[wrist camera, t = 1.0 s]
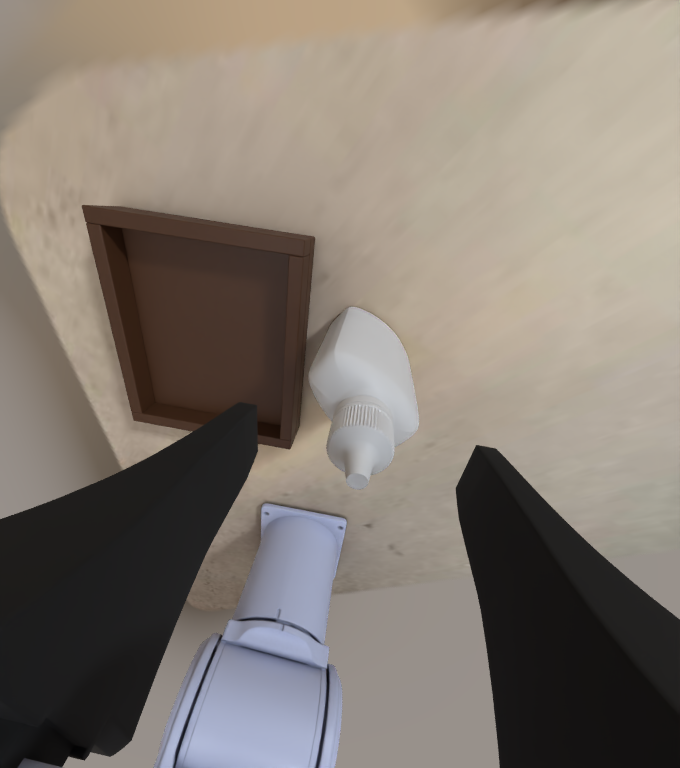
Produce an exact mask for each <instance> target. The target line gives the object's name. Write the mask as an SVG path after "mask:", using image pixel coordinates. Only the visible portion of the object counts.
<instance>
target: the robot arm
mask: <svg viewBox="0 0 680 768" xmlns="http://www.w3.org/2000/svg"><path fill="white" fill-rule="evenodd" d="M257 452H258V432H257V405H254V404H248V403H243V402H238V403H237V404H235V405H233V406H232V407H230V408H229V409H227V410H226V411H224V412H223V413H221V414H220V415H218V416H217V417H215V418H214V419H212V420H211V421H209V422H208V423H206V424H204V425H203V426H201V427H200V428H198V429H197V430H195V431H193V432H192V433H190V434H189V435H187V436H185V437H184V438H182V439H180V440H178V441H177V442H175V443H173V444H172V445H170V446H168V447H166V448H165V449H163V450H161V451H159V452H158V453H156V454H154V455H152V456H150V457H149V458H147V459H145V460H143V461H141V462H139V463H137V464H135V465H133V466H131V467H129V468H127V469H125V470H123V471H121V472H118V473H116V474H114V475H112V476H110V477H108V478H105V479H103V480H101V481H98V482H97V483H94V484H91V485H89V486H87V487H84V488H82V489H79V490H77V491H75V492H72V493H70V494H67V495H65V496H63V497H60V498H58V499H55V500H52V501H50V502H47V503H44V504H42V505H39V506H36V507H34V508H31V509H28V510H25V511H23V512H20V513H17V514H14V515H11V516H8V517H6V518H3V519H0V768H62V766H63V765H64V763H65V761H66V760H67V758H68V757H73V758H77V759H81V760H85V759H86V758H87V757H88V756H89V754H90V752H93V753H97V754H101V755H105V756H109V757H110V756H112V755H114V754H116V753H117V752H119V751H120V750H121V749H122V748H124V747H125V746H126V745H127V744H128V743H129V742H130V741H131V740H132V737H133V735H134V732H135V730H136V727H137V724H138V721H139V718H140V716H141V713H142V710H143V708H144V705H145V702H146V700H147V697H148V694H149V692H150V689H151V686H152V684H153V681H154V678H155V676H156V673H157V670H158V668H159V665H160V663H161V660H162V658H163V655H164V653H165V650H166V648H167V645H168V643H169V640H170V638H171V635H172V633H173V630H174V627H175V625H176V622H177V620H178V618H179V616H180V613H181V611H182V608H183V606H184V604H185V601H186V599H187V596H188V594H189V592H190V589H191V587H192V585H193V582H194V580H195V578H196V576H197V573H198V571H199V569H200V566H201V564H202V562H203V560H204V557H205V555H206V553H207V551H208V549H209V547H210V545H211V543H212V541H213V539H214V537H215V536H216V534H217V532H218V530H219V528H220V527H221V525H222V523H223V521H224V519H225V517H226V516H227V514H228V512H229V510H230V508H231V507H232V505H233V503H234V501H235V499H236V498H237V496H238V494H239V492H240V490H241V488H242V487H243V485H244V483H245V481H246V479H247V477H248V475H249V472H250V470H251V467H252V465H253V462H254V460H255V457H256V454H257ZM456 497H457V507H458V514H459V521H460V525H461V529H462V534H463V538H464V542H465V546H466V550H467V554H468V558H469V562H470V566H471V570H472V574H473V578H474V582H475V586H476V590H477V594H478V599H479V604H480V609H481V614H482V621H483V627H484V634H485V641H486V647H487V653H488V662H489V669H490V677H491V685H492V692H493V702H494V711H495V721H496V730H497V740H498V749H499V761H500V762H499V763H500V768H680V619H678V618H677V617H675V616H674V615H673V614H672V613H671V612H669V611H668V610H667V609H666V608H664V607H663V606H661V605H660V604H659V603H658V602H657V601H655V600H654V599H653V598H651V597H650V596H649V595H648V594H647V593H645V592H644V591H643V590H642V589H640V588H639V587H638V586H637V585H635V584H634V583H633V582H632V581H631V580H629V578H627V577H626V576H625V575H624V574H623V573H622V572H620V571H619V570H618V569H617V568H616V567H614V566H613V565H612V564H611V563H610V562H609V561H608V560H607V559H605V558H604V557H603V556H602V555H601V554H600V553H599V552H598V551H596V550H595V549H594V548H593V547H592V546H591V545H590V544H589V543H588V542H587V541H586V540H585V539H584V538H582V537H581V536H580V535H579V534H578V533H577V532H576V531H575V530H574V529H573V528H572V527H571V526H570V525H569V524H568V523H567V522H566V521H565V520H564V519H563V518H562V517H561V516H560V515H559V514H558V513H557V512H556V511H555V510H554V509H553V508H552V507H551V506H550V505H549V504H548V503H547V502H546V501H545V500H544V499H543V498H542V497H541V496H540V495H539V494H538V493H537V491H536V490H535V489H534V488H533V487H532V486H531V485H530V484H529V483H528V482H527V481H526V480H525V479H524V478H523V476H522V475H521V474H520V473H519V472H518V471H517V470H516V469H515V468H514V467H513V466H512V465H511V464H510V463H509V461H508V460H507V459H506V458H505V457H504V456H503V455H502V454H501V453H500V452H499V451H498V450H497V449H495V448H490V447H484V446H479V445H476V447H475V449H474V451H473V453H472V455H471V457H470V459H469V462H468V464H467V466H466V468H465V470H464V472H463V474H462V476H461V478H460V480H459V483H458V485H457V487H456ZM346 524H347V521H346V519H344V518H341V517H336V516H331V515H325V514H320V513H315V512H310V511H305V510H300V509H294V508H289V507H284V506H279V505H274V504H268V503H265V504H263V505H262V508H261V543H260V546H259V548H258V551H257V554H256V556H255V559H254V562H253V564H252V567H251V570H250V573H249V575H248V578H247V581H246V583H245V586H244V589H243V591H242V594H241V597H240V599H239V602H238V605H237V607H236V610H235V613H234V615H233V618H232V619H230V620H228V623H227V625H226V628H225V630H224V633H223V636H222V635H221V634H218V633H213V634H212V635H211V637H209V638H207V639H206V640H205V641H203V642H202V644H201V645H200V647H199V648H198V650H197V652H196V654H195V656H194V659H193V660H192V662H191V665H190V667H189V669H188V671H187V673H186V676H185V678H184V680H183V683H182V685H181V688H180V690H179V693H178V695H177V698H176V700H175V703H174V705H173V708H172V711H171V713H170V716H169V719H168V722H167V725H166V728H165V730H164V733H163V736H162V740H161V743H160V747H159V753H158V756H157V759H156V762H155V764H154V767H153V768H335V763H336V758H337V752H338V745H339V738H340V729H341V718H342V685H341V681H340V678H339V676H338V674H337V670H336V668H335V666H334V665H332V664H327V663H328V655H329V647H328V646H326V645H324V642H325V634H326V627H327V620H328V613H329V605H330V598H331V590H332V583H333V579H334V578H335V575H336V570H337V566H338V561H339V556H340V552H341V547H342V543H343V538H344V534H345V529H346Z"/></svg>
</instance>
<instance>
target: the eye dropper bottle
mask: <svg viewBox="0 0 680 768" xmlns="http://www.w3.org/2000/svg"><path fill="white" fill-rule="evenodd" d="M308 378H309V384H310V387H311V389H312V392H313V394H314V396H315V398H316V400H317V401H318V403H319V405H320V407H321V408H322V410H323V411H324V412H325V414H326V415H327V416H328V418H329V419H330V420H331V421H332V424H331V428H330V432H329V436H328V440H327V445H326V446H327V448H326V449H327V452H328V453H327V454H328V457H329V458H330V460H331V462H332V463H333V464H334V465H335V466H336V467H337V468H339V469H340V470H342V471H343V472H345V476H346V483H347V485H348V486H349V487H351V488H353V489H363V488H365V487H366V486H367V485H368V482H369V479H370V475H374V474H377V473H379V472H381V471H383V470H384V469H386V467H388V466H389V464H390V462H392V459H393V457H394V447H396V446H398V445H400V444H401V443H403V442H404V441H406V440H407V439H409V438H410V437H411V436H412V435H413V434H414V433H415V432H416V431H417V429H418V427H419V414H418V407H417V401H416V395H415V390H414V384H413V379H412V374H411V368H410V363H409V359H408V356H407V353H406V351H405V349H404V347H403V345H402V343H401V341H400V340H399V338H398V337H397V336H396V334H395V333H394V332H393V331H392V330H391V328H390V327H389V326H388V325H386V324H385V323H384V322H383V321H382V320H380V319H379V318H378V317H376V316H374V315H373V314H371V313H369V312H367V311H365V310H363V309H360V308H357V307H348V308H347V309H345V310H344V311H343V312H342V313H341V314H340V315H339V316H338V317H337V318H336V319H335V320H334V321H333V322H332V323H331V325H330V327H329V329H328V331H327V333H326V335H325V337H324V340H323V342H322V344H321V346H320V348H319V350H318V352H317V355H316V357H315V359H314V361H313V363H312V366H311V368H310V371H309V374H308Z"/></svg>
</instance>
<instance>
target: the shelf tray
mask: <svg viewBox="0 0 680 768" xmlns="http://www.w3.org/2000/svg"><path fill="white" fill-rule="evenodd" d="M82 209H83V213H84V217H85V221H86V222H87V223H86V225H87V229H88V233H89V238H90V242H91V246H92V250H93V254H94V258H95V262H96V267H97V271H98V275H99V279H100V283H101V287H102V291H103V296H104V300H105V304H106V308H107V312H108V316H109V320H110V325H111V329H112V333H113V337H114V341H115V345H116V349H117V353H118V358H119V362H120V366H121V370H122V374H123V378H124V382H125V387H126V391H127V395H128V399H129V403H130V407H131V411H132V415H133V419H134V421H139V422H145V423H150V424H155V425H161V426H166V427H172V428H177V429H182V430H188V431H195V430H197V429H198V428H200V427H201V426H203V425H204V424H206V423H208V422H209V421H211V420H212V419H214V418H215V417H217V416H218V415H220V414H221V413H223V412H224V411H226V410H227V409H229V408H230V407H232V406H233V405H235V404H237V403H238V402H243V403H248V404H254V405H257V432H258V444H264V445H269V446H274V447H280V448H285V449H291V446H292V444H293V441H294V439H295V436H296V434H297V431H298V428H299V422H300V410H301V398H302V386H303V374H304V362H305V351H306V339H307V327H308V315H309V303H310V291H311V279H312V267H313V255H314V243H315V237H312V236H306V235H299V234H293V233H286V232H280V231H273V230H267V229H261V228H254V227H248V226H241V225H235V224H229V223H222V222H216V221H209V220H203V219H197V218H190V217H184V216H177V215H171V214H165V213H158V212H152V211H145V210H139V209H133V208H126V207H117V206H93V205H82Z"/></svg>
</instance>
